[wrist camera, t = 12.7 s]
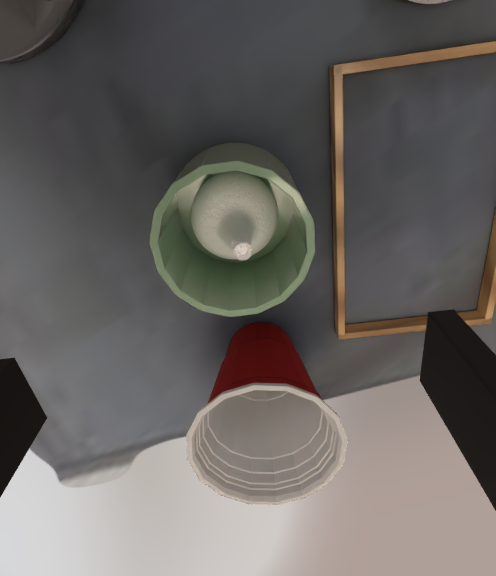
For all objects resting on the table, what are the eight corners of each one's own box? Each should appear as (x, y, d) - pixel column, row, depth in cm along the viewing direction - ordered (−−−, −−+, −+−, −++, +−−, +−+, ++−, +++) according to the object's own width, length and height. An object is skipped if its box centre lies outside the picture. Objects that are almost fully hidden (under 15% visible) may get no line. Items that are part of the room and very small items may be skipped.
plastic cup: (313, 286, 32) (346, 383, 22) (322, 380, 37) (352, 497, 27) (190, 304, 33) (164, 406, 23) (215, 394, 38) (204, 512, 28)
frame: (329, 66, 25) (333, 64, 23) (537, 35, 24) (553, 32, 23) (335, 330, 35) (338, 339, 33) (482, 314, 34) (491, 323, 33)
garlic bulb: (188, 169, 27) (168, 199, 20) (275, 164, 27) (286, 192, 20) (199, 250, 30) (185, 300, 23) (277, 246, 30) (287, 295, 23)
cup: (160, 151, 27) (130, 175, 20) (293, 133, 27) (310, 150, 19) (187, 270, 32) (171, 324, 25) (301, 257, 31) (318, 307, 24)
